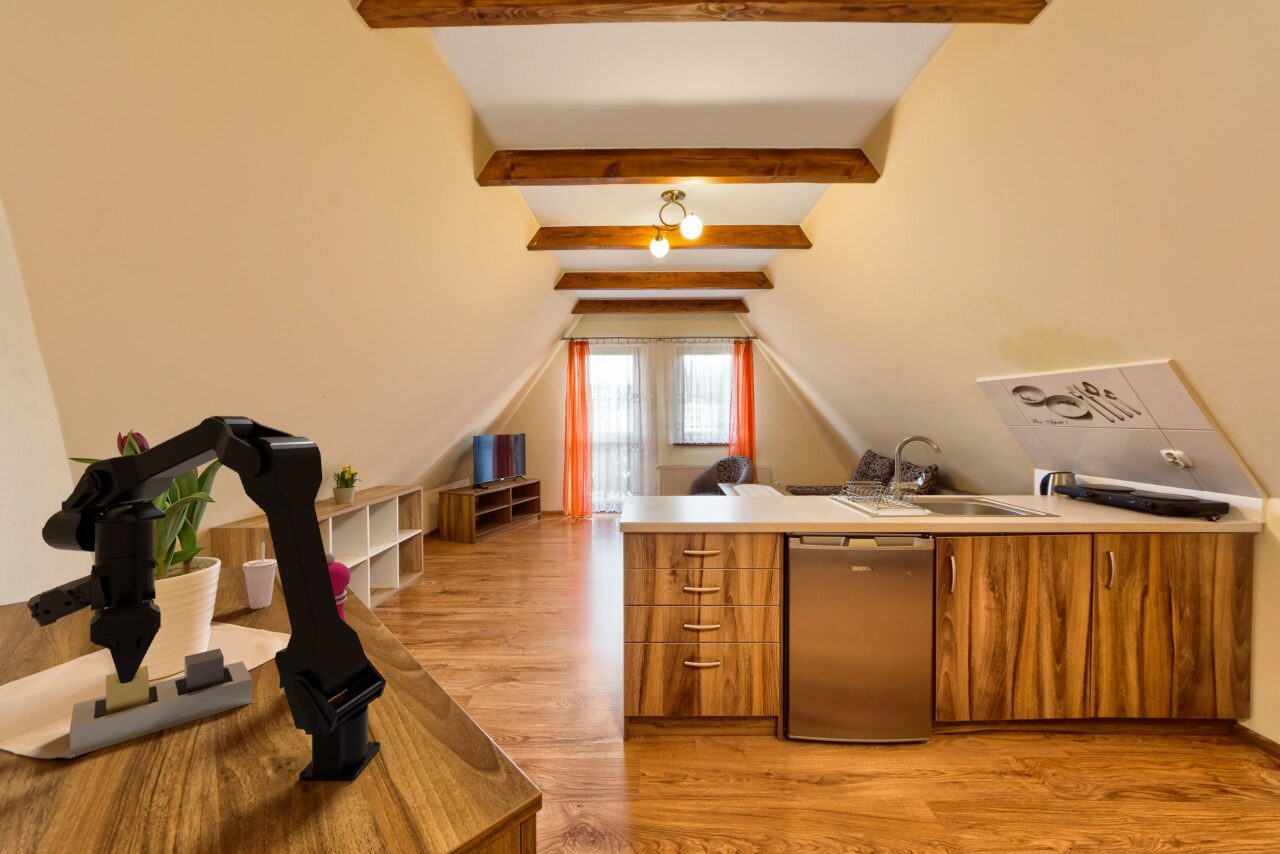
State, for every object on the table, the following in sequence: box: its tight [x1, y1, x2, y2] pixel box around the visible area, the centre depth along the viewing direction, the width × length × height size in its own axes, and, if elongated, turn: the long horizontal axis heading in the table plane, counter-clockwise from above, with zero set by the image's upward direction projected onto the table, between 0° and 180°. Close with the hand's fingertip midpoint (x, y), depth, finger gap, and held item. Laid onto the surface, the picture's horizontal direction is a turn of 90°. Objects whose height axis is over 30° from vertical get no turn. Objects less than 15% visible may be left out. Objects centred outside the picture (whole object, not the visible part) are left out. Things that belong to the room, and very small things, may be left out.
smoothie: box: [242, 541, 278, 610], centre depth 118 cm, size 6×6×14 cm
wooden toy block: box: [105, 665, 150, 716], centre depth 71 cm, size 4×4×7 cm
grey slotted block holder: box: [69, 648, 253, 757], centre depth 73 cm, size 18×8×7 cm, turn 135°
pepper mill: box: [325, 552, 351, 623], centre depth 84 cm, size 7×7×20 cm
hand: (126, 670), depth 71 cm, fingers open, 9 cm apart
